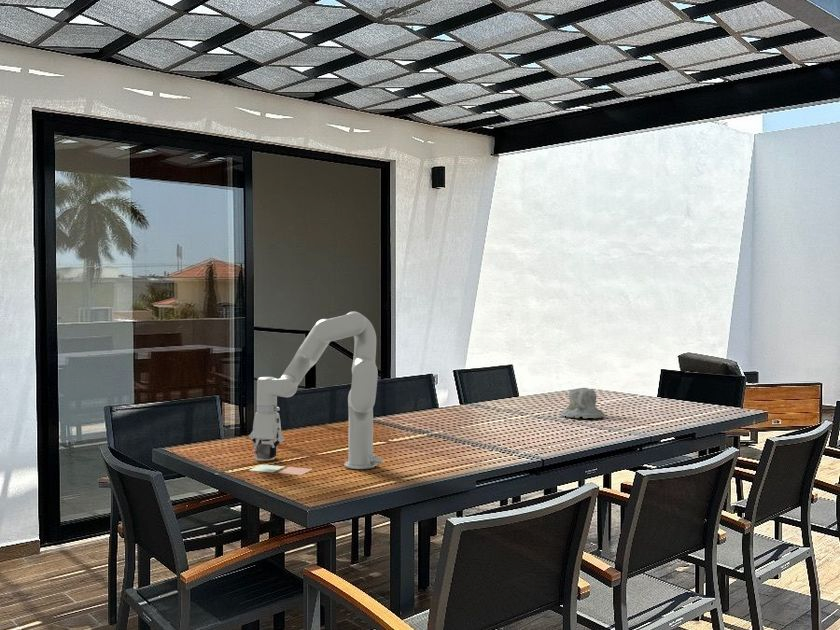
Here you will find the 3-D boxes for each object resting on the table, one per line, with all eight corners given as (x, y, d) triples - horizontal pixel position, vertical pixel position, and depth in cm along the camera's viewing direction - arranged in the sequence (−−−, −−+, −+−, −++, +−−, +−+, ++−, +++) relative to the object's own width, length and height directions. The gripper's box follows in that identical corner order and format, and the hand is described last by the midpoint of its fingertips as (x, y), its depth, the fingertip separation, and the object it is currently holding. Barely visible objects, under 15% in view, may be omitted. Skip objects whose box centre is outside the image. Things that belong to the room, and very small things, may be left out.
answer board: (313, 470, 304) (313, 469, 304) (301, 476, 295) (301, 474, 295) (261, 465, 311) (261, 464, 311) (248, 471, 302) (248, 470, 302)
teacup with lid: (248, 459, 323) (248, 430, 322) (266, 455, 330) (266, 427, 329) (267, 463, 315) (267, 434, 314) (285, 459, 322) (285, 431, 321)
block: (275, 456, 306) (275, 443, 306) (268, 459, 302) (269, 446, 301) (263, 455, 308) (263, 442, 308) (257, 458, 303) (257, 445, 303)
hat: (614, 418, 428) (614, 390, 427) (580, 421, 417) (580, 392, 417) (583, 411, 451) (583, 384, 450) (550, 413, 440) (550, 386, 440)
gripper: (291, 409, 305) (290, 456, 306) (252, 406, 310) (251, 452, 311) (282, 412, 298) (281, 460, 298) (241, 409, 303) (241, 456, 304)
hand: (266, 456), depth 305 cm, fingers closed on block, 5 cm apart
